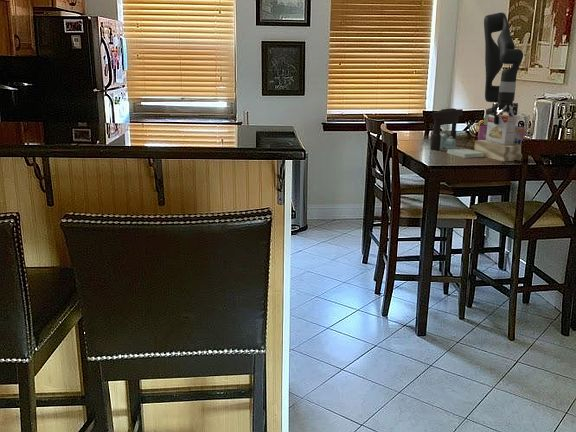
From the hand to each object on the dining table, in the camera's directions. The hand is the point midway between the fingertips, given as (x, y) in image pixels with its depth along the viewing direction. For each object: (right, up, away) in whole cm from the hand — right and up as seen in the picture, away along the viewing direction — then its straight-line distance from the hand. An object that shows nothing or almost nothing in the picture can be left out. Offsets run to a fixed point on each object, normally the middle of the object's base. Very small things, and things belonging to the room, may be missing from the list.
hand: (502, 124), depth 285 cm
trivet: (-17, -15, +8) cm, 23 cm away
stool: (-21, -8, +31) cm, 38 cm away
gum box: (+6, -11, +22) cm, 26 cm away
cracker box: (-1, -16, +5) cm, 17 cm away
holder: (0, -16, +4) cm, 17 cm away
